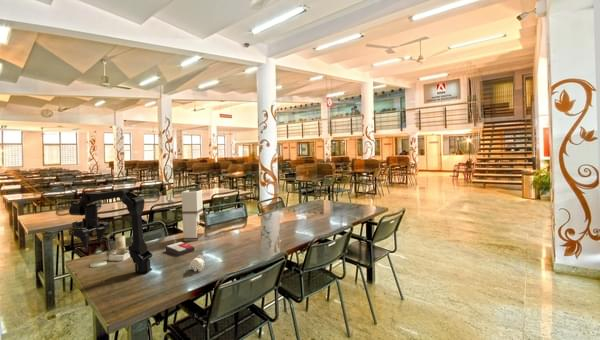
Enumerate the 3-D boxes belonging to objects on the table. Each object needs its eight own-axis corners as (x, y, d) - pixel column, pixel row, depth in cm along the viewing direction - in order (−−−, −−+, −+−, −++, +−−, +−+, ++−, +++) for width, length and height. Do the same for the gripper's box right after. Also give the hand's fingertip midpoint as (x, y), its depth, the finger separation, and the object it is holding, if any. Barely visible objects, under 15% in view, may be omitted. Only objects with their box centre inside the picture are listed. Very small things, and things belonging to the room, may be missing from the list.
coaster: (110, 262, 173) (110, 261, 173) (100, 267, 165) (100, 266, 165) (97, 262, 173) (96, 261, 173) (86, 267, 165) (86, 266, 165)
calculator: (178, 250, 180) (165, 245, 189) (178, 257, 181) (165, 251, 190) (194, 246, 189) (181, 240, 198) (194, 252, 190) (181, 247, 198)
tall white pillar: (198, 240, 212) (196, 191, 210) (183, 240, 212) (181, 192, 210) (203, 235, 223) (202, 189, 221) (189, 236, 223) (187, 190, 221)
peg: (127, 256, 182) (126, 235, 181) (122, 259, 177) (121, 237, 176) (120, 256, 182) (118, 235, 181) (114, 259, 177) (113, 237, 176)
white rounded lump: (191, 267, 163) (190, 254, 163) (208, 267, 163) (207, 254, 162) (185, 272, 156) (184, 259, 155) (203, 272, 155) (202, 259, 155)
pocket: (133, 255, 184) (132, 250, 183) (123, 260, 175) (123, 255, 175) (119, 255, 184) (118, 250, 184) (109, 260, 175) (108, 255, 175)
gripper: (90, 211, 168) (91, 238, 169) (61, 219, 150) (63, 249, 151) (109, 212, 167) (110, 239, 168) (82, 220, 149) (83, 250, 150)
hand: (92, 244), depth 159 cm, fingers open, 9 cm apart
